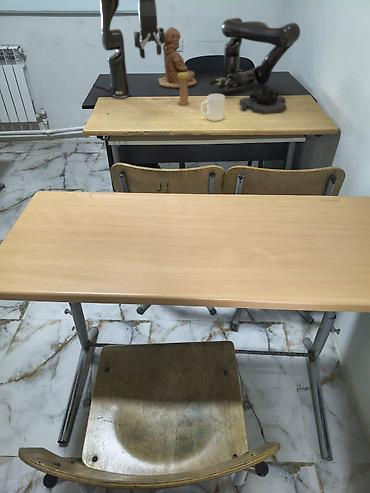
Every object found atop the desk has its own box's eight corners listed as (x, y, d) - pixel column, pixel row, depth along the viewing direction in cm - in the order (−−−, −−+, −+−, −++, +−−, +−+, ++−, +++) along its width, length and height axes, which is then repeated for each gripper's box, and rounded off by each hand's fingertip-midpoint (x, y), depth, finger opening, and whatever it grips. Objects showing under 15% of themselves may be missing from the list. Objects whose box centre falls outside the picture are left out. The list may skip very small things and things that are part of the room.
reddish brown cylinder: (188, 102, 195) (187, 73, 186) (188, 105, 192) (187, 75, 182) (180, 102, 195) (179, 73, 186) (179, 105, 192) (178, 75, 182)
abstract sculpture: (248, 96, 172) (237, 84, 187) (247, 115, 178) (235, 102, 193) (298, 91, 175) (282, 80, 190) (294, 110, 181) (280, 98, 196)
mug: (201, 122, 172) (201, 100, 166) (198, 116, 178) (198, 94, 172) (225, 120, 173) (226, 98, 167) (221, 114, 180) (222, 93, 173)
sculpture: (197, 88, 213) (196, 30, 194) (156, 89, 214) (152, 31, 194) (196, 75, 234) (196, 22, 215) (159, 76, 235) (156, 23, 215)
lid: (188, 75, 187) (188, 72, 186) (188, 78, 183) (188, 75, 182) (178, 75, 187) (178, 72, 186) (177, 78, 183) (177, 75, 182)
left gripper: (156, 11, 156) (159, 52, 166) (128, 14, 149) (133, 57, 160) (166, 12, 151) (168, 55, 162) (138, 16, 145) (142, 60, 155)
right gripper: (231, 70, 204) (207, 74, 198) (246, 75, 195) (222, 80, 189) (230, 84, 209) (207, 88, 203) (245, 90, 200) (221, 95, 194)
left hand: (151, 56), depth 161 cm, fingers open, 8 cm apart
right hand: (214, 84), depth 196 cm, fingers open, 8 cm apart
